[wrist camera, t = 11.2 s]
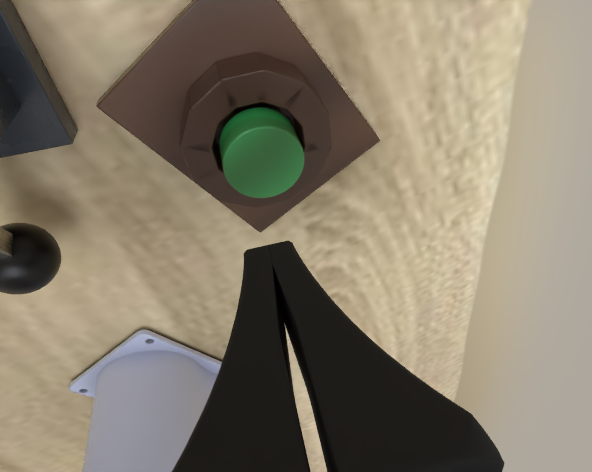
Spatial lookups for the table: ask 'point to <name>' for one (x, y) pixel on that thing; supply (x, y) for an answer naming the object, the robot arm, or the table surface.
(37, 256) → the switch lever
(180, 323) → the table surface
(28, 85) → the switch bracket
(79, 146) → the table surface
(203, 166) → the button block
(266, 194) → the light button
